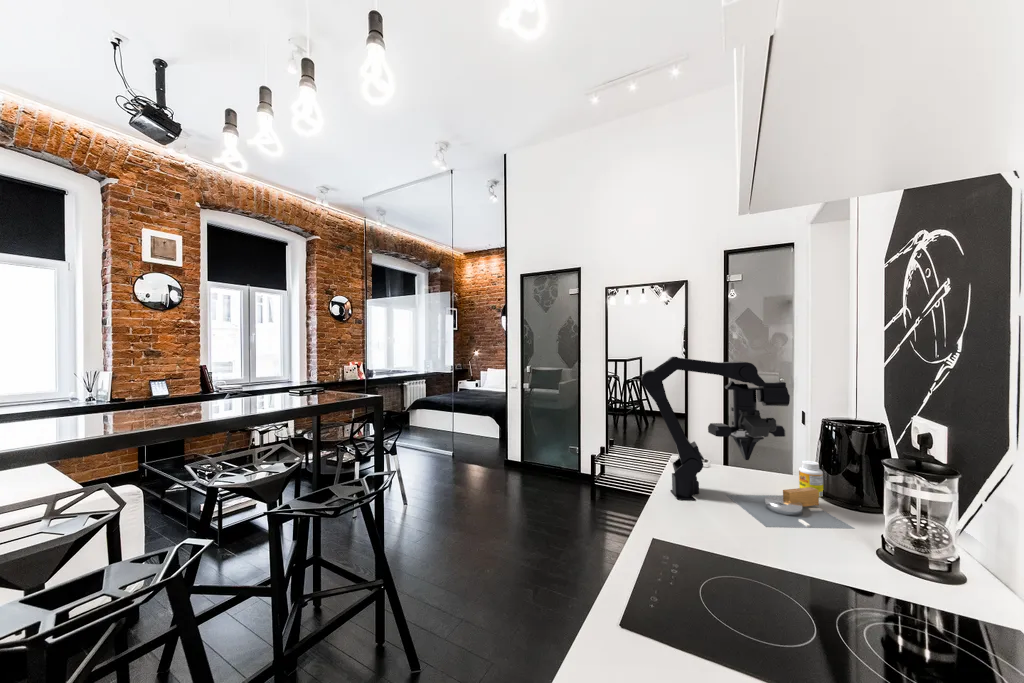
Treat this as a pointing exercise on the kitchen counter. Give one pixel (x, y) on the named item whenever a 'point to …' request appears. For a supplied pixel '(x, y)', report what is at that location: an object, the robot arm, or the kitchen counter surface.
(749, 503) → the board
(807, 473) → the supplement bottle
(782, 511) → the dial
